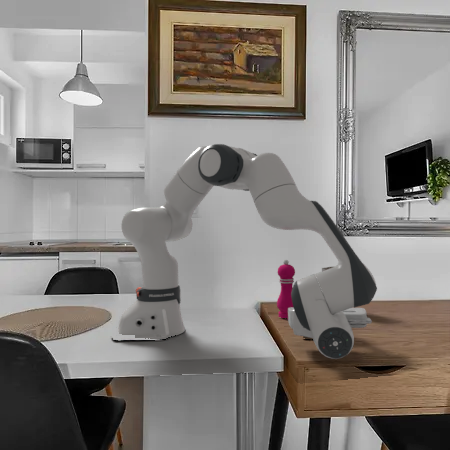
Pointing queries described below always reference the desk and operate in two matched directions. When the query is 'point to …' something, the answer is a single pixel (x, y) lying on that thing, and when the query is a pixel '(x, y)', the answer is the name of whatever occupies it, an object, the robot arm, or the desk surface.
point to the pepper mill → (285, 288)
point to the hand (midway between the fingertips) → (324, 309)
